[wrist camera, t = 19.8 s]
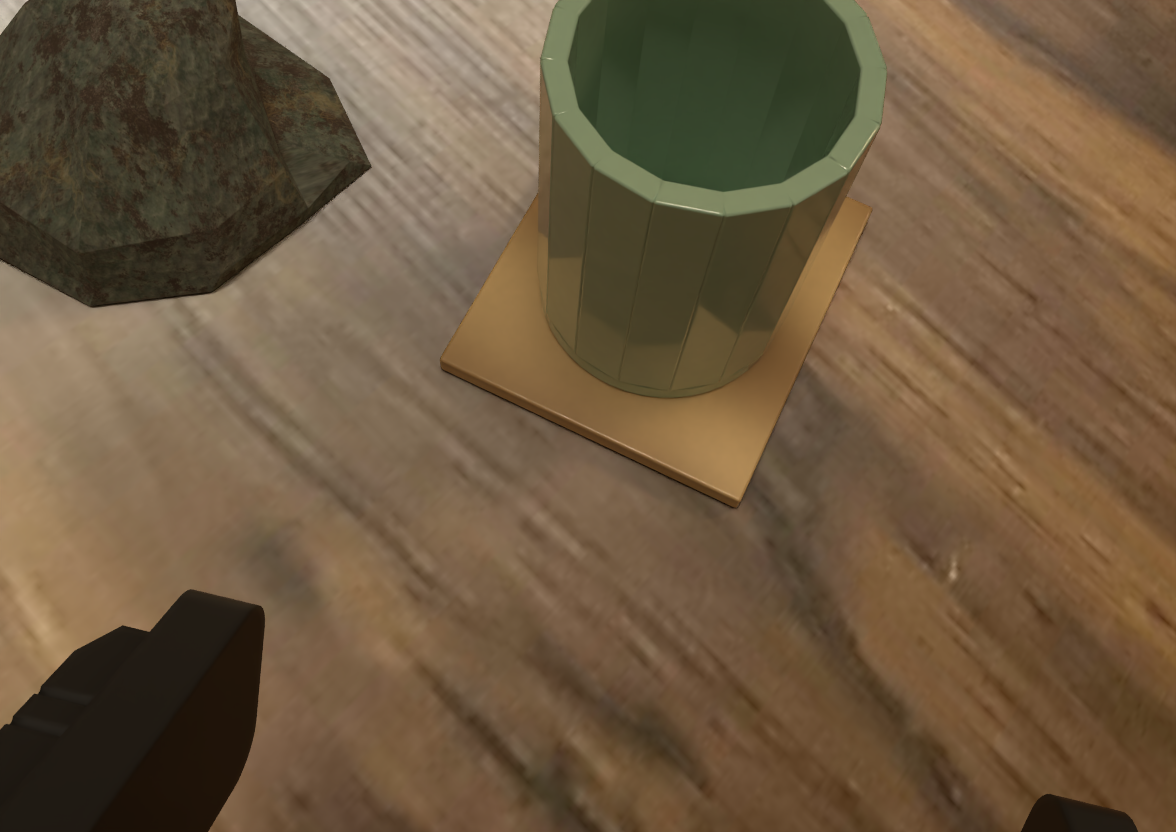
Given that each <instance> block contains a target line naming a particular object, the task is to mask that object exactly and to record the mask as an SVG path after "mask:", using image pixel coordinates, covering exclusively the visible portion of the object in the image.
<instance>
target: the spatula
mask: <svg viewBox="0 0 1176 832" xmlns="http://www.w3.org/2000/svg"><path fill="white" fill-rule="evenodd" d="M871 212H872V208H871V207H870V206H867V205H865V204H863V203H860V202H858V201H856V200H853V199H851V198H849V197H847V196H846V198H845V200H844V202H843V204H842V206H841V208H840V210H839V212H838V214H837V216H836V218H835V220H834V222H833V224H832V226H831V228H830V230H829V232H828V234H827V236H826V238H825V240H824V242H823V244H822V246H821V249H820V251H819V253H818V255H817V257H816V259H815V261H814V263H813V265H812V267H811V269H810V271H809V273H808V275H807V277H806V279H805V281H804V283H803V285H802V287H801V289H800V291H799V293H798V295H797V297H796V299H795V301H794V303H793V305H792V307H791V309H790V311H789V313H788V315H787V317H786V319H785V321H784V323H783V324H782V326H781V327H780V329H779V330H778V332H777V334H776V336H775V337H774V339H773V341H772V343H771V344H770V346H769V348H768V349H767V350H766V352H765V353H764V354H763V356H762V357H761V358H760V359H759V360H758V361H757V362H756V363H755V364H754V365H753V366H752V367H751V368H750V369H749V370H748V371H746V372H745V373H744V374H742V375H741V376H740V377H738V378H737V379H735V380H733V381H732V382H730V383H728V384H726V385H724V386H722V387H720V388H717V389H714V390H712V391H709V392H706V393H702V394H698V395H693V396H687V397H678V398H658V397H650V396H643V395H638V394H634V393H631V392H627V391H624V390H621V389H619V388H616V387H614V386H611V385H609V384H607V383H605V382H603V381H601V380H600V379H598V378H596V377H594V376H593V375H592V374H590V373H589V372H587V371H586V370H585V369H583V368H582V367H581V366H580V365H579V364H577V363H576V362H575V361H574V360H573V359H572V358H571V357H570V356H569V355H568V354H567V352H566V351H565V350H564V349H563V348H562V346H561V345H560V344H559V342H558V341H557V339H556V337H555V336H554V334H553V333H552V331H551V329H550V327H549V324H548V322H547V320H546V318H545V314H544V311H543V308H542V304H541V298H540V291H539V278H538V273H537V250H538V194H537V195H536V197H535V199H534V200H533V202H532V204H531V205H530V207H529V209H528V210H527V212H526V214H525V215H524V217H523V219H522V221H521V222H520V224H519V226H518V227H517V229H516V231H515V232H514V234H513V236H512V237H511V239H510V241H509V243H508V244H507V246H506V248H505V249H504V251H503V253H502V254H501V256H500V258H499V259H498V261H497V263H496V264H495V266H494V268H493V270H492V271H491V273H490V275H489V276H488V278H487V280H486V281H485V283H484V285H483V286H482V288H481V290H480V292H479V293H478V295H477V297H476V298H475V300H474V302H473V303H472V305H471V307H470V308H469V310H468V312H467V313H466V315H465V317H464V319H463V320H462V322H461V324H460V325H459V327H458V329H457V330H456V332H455V334H454V335H453V337H452V339H451V341H450V342H449V344H448V346H447V347H446V349H445V351H444V352H443V354H442V356H441V357H440V364H441V368H442V369H443V370H445V371H447V372H449V373H451V374H454V375H456V376H458V377H460V378H462V379H464V380H466V381H468V382H470V383H472V384H475V385H477V386H479V387H481V388H483V389H485V390H487V391H489V392H491V393H494V394H496V395H498V396H500V397H502V398H504V399H506V400H508V401H510V402H513V403H515V404H517V405H519V406H521V407H523V408H525V409H527V410H529V411H532V412H534V413H536V414H538V415H540V416H542V417H544V418H546V419H548V420H550V421H553V422H555V423H557V424H559V425H561V426H563V427H565V428H567V429H569V430H572V431H574V432H576V433H578V434H580V435H582V436H584V437H586V438H588V439H591V440H593V441H595V442H597V443H599V444H601V445H603V446H605V447H607V448H610V449H612V450H614V451H616V452H618V453H620V454H622V455H624V456H626V457H628V458H631V459H633V460H635V461H637V462H639V463H641V464H643V465H645V466H647V467H650V468H652V469H654V470H656V471H658V472H660V473H662V474H664V475H666V476H669V477H671V478H673V479H675V480H677V481H679V482H681V483H683V484H685V485H688V486H690V487H692V488H694V489H696V490H698V491H700V492H702V493H704V494H706V495H709V496H711V497H713V498H715V499H717V500H719V501H721V502H723V503H725V504H728V505H730V506H732V507H737V506H738V504H739V503H740V501H741V499H742V497H743V495H744V493H745V490H746V488H747V486H748V484H749V482H750V479H751V477H752V475H753V473H754V471H755V468H756V466H757V464H758V462H759V460H760V457H761V455H762V453H763V451H764V449H765V446H766V444H767V442H768V440H769V437H770V435H771V433H772V431H773V429H774V426H775V424H776V422H777V420H778V418H779V415H780V413H781V411H782V409H783V407H784V404H785V402H786V400H787V398H788V396H789V393H790V391H791V389H792V387H793V385H794V382H795V380H796V378H797V376H798V373H799V371H800V369H801V367H802V365H803V362H804V360H805V358H806V356H807V354H808V351H809V349H810V347H811V345H812V343H813V340H814V338H815V336H816V334H817V332H818V329H819V327H820V325H821V323H822V320H823V318H824V316H825V314H826V312H827V309H828V307H829V305H830V303H831V301H832V298H833V296H834V294H835V292H836V290H837V287H838V285H839V283H840V281H841V279H842V276H843V274H844V272H845V270H846V267H847V265H848V263H849V261H850V259H851V256H852V254H853V252H854V250H855V248H856V245H857V243H858V241H859V239H860V237H861V234H862V232H863V230H864V228H865V226H866V223H867V221H868V219H869V217H870V214H871Z"/></svg>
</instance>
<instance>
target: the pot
mask: <svg viewBox="0 0 1176 832" xmlns="http://www.w3.org/2000/svg"><path fill="white" fill-rule="evenodd" d="M886 69H887V67H886V64H885V61H884V58H883V55H882V53H881V50H880V47H879V44H878V42H877V39H876V36H875V33H874V31H873V28H872V25H871V22H870V20H869V17H867V14H866V13H865V12H864V10H863V9H862V8H861V7H860V6H859V5H858V4H857V3H856V2H855V1H854V0H559V1H558V2H557V3H556V5H555V7H554V9H553V11H552V15H551V19H550V22H549V26H548V30H547V34H546V38H545V42H544V46H543V50H542V54H541V58H540V115H539V182H538V250H537V273H538V278H539V291H540V298H541V304H542V308H543V311H544V314H545V318H546V320H547V322H548V324H549V327H550V329H551V331H552V333H553V334H554V336H555V337H556V339H557V341H558V342H559V344H560V345H561V346H562V348H563V349H564V350H565V351H566V352H567V354H568V355H569V356H570V357H571V358H572V359H573V360H574V361H575V362H576V363H577V364H579V365H580V366H581V367H582V368H583V369H585V370H586V371H587V372H589V373H590V374H592V375H593V376H594V377H596V378H598V379H600V380H601V381H603V382H605V383H607V384H609V385H611V386H614V387H616V388H619V389H621V390H624V391H627V392H631V393H634V394H638V395H643V396H650V397H658V398H678V397H687V396H693V395H698V394H702V393H706V392H709V391H712V390H714V389H717V388H720V387H722V386H724V385H726V384H728V383H730V382H732V381H733V380H735V379H737V378H738V377H740V376H741V375H742V374H744V373H745V372H746V371H748V370H749V369H750V368H751V367H752V366H753V365H754V364H755V363H756V362H757V361H758V360H759V359H760V358H761V357H762V356H763V354H764V353H765V352H766V350H767V349H768V348H769V346H770V344H771V343H772V341H773V339H774V337H775V336H776V334H777V332H778V330H779V329H780V327H781V326H782V324H783V323H784V321H785V319H786V317H787V315H788V313H789V311H790V309H791V307H792V305H793V303H794V301H795V299H796V297H797V295H798V293H799V291H800V289H801V287H802V285H803V283H804V281H805V279H806V277H807V275H808V273H809V271H810V269H811V267H812V265H813V263H814V261H815V259H816V257H817V255H818V253H819V251H820V249H821V246H822V244H823V242H824V240H825V238H826V236H827V234H828V232H829V230H830V228H831V226H832V224H833V222H834V220H835V218H836V216H837V214H838V212H839V210H840V208H841V206H842V204H843V202H844V200H845V198H846V196H847V194H848V192H849V190H850V188H851V186H852V184H853V182H854V180H855V178H856V176H857V174H858V172H859V170H860V168H861V165H862V163H863V161H864V159H865V157H866V155H867V153H868V151H869V149H870V147H871V145H872V143H873V141H874V139H875V137H876V135H877V133H878V131H879V129H880V126H881V124H882V116H883V107H884V98H885V89H886V81H887V70H886Z"/></svg>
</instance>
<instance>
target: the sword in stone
mask: <svg viewBox="0 0 1176 832" xmlns="http://www.w3.org/2000/svg"><path fill="white" fill-rule="evenodd" d="M370 166H371V164H370V162H369V160H368V158H367V156H366V154H365V152H364V150H363V147H362V145H361V143H360V141H359V139H358V137H357V135H356V133H355V131H354V129H353V127H352V124H351V122H350V120H349V118H348V116H347V114H346V112H345V110H344V108H343V106H342V104H341V102H340V99H339V97H338V95H337V93H336V91H335V89H334V87H333V85H332V83H331V81H330V79H329V78H328V77H327V76H325V75H324V74H322V73H321V72H320V71H318V70H317V69H315V68H314V67H312V66H311V65H309V64H308V63H307V62H305V61H304V60H302V59H301V58H299V57H298V56H297V55H295V54H294V53H292V52H291V51H289V50H288V49H286V48H285V47H284V46H282V45H281V44H279V43H278V42H276V41H275V40H274V39H272V38H271V37H269V36H268V35H266V34H265V33H264V32H262V31H261V30H259V29H258V28H256V27H255V26H253V25H252V24H251V23H249V22H248V21H246V20H245V19H243V18H242V17H241V16H239V15H238V12H237V7H236V1H235V0H28V1H27V2H26V3H25V4H24V5H23V6H22V8H21V9H20V10H19V11H18V13H17V14H16V15H15V17H14V18H13V19H12V21H11V22H10V23H9V24H8V26H7V27H6V28H5V30H4V31H3V32H2V34H1V35H0V258H1V259H3V260H5V261H7V262H8V263H10V264H12V265H14V266H16V267H18V268H20V269H22V270H23V271H25V272H27V273H29V274H31V275H33V276H35V277H36V278H38V279H40V280H42V281H44V282H46V283H48V284H50V285H51V286H53V287H55V288H57V289H59V290H61V291H63V292H65V293H66V294H68V295H70V296H72V297H74V298H76V299H78V300H80V301H81V302H83V303H85V304H87V305H89V306H94V305H102V304H111V303H119V302H127V301H136V300H144V299H153V298H161V297H169V296H178V295H186V294H195V293H203V292H211V291H213V290H215V289H216V288H217V287H219V286H220V285H221V284H223V283H224V282H225V281H227V280H228V279H229V278H231V277H232V276H233V275H235V274H236V273H237V272H239V271H240V270H241V269H243V268H244V267H245V266H246V265H248V264H249V263H250V262H252V261H253V260H254V259H256V258H257V257H258V256H260V255H261V254H262V253H264V252H265V251H266V250H268V249H269V248H270V247H272V246H273V245H274V244H276V243H277V242H278V241H279V240H281V239H282V238H283V237H285V236H286V235H287V234H289V233H290V232H291V231H293V230H294V229H295V228H297V227H298V226H299V225H301V224H302V223H303V222H304V221H305V220H307V219H308V218H309V217H310V216H311V215H313V214H314V213H315V212H316V211H317V210H319V209H320V208H321V207H322V206H323V205H325V204H326V203H327V202H328V201H329V200H331V199H332V198H333V197H334V196H335V195H337V194H338V193H339V192H340V191H341V190H343V189H344V188H345V187H346V186H347V185H349V184H350V183H351V182H352V181H353V180H355V179H356V178H357V177H358V176H359V175H361V174H362V173H363V172H364V171H365V170H367V169H368V168H369V167H370Z"/></svg>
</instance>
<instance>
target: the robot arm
mask: <svg viewBox="0 0 1176 832" xmlns="http://www.w3.org/2000/svg"><path fill="white" fill-rule="evenodd" d="M264 628H265V615H264V610H263V608H262V607H261V606H259V605H255V604H251V603H246V602H242V601H238V600H234V599H230V598H226V597H222V596H217V595H213V594H209V593H205V592H201V591H197V590H191V589H190V590H188V591H186V592H184V593H183V594H182V595H181V596H180V597H179V598H178V599H177V601H176V602H175V603H174V604H173V605H172V606H171V608H170V609H169V610H168V611H167V612H166V614H165V615H164V616H163V617H162V618H161V619H160V621H159V622H158V623H157V624H156V625H155V626H154V628H153V629H152V630H151V631H150V632H147V631H143V630H139V629H135V628H131V627H127V626H121V627H119V628H117V629H115V630H113V631H111V632H109V633H107V634H106V635H104V636H102V637H100V638H98V639H96V640H94V641H92V642H90V643H89V644H87V645H85V646H83V647H81V648H79V649H77V650H75V651H74V652H73V653H72V654H71V655H70V656H69V657H68V658H67V659H66V660H65V661H64V662H63V664H62V665H61V666H60V667H59V668H58V669H57V670H56V671H55V672H54V673H53V674H52V675H51V676H50V677H49V678H48V679H47V681H46V682H45V683H44V684H43V685H42V686H41V689H40V692H39V693H38V694H33V695H32V697H31V698H30V699H29V700H28V701H27V702H26V703H25V704H24V705H23V706H22V707H21V708H20V709H19V710H18V711H17V713H16V714H15V715H14V716H13V720H12V722H11V724H10V725H9V724H5V725H4V726H3V727H2V728H1V730H0V832H208V831H209V829H210V827H211V826H212V824H213V822H214V821H215V819H216V817H217V816H218V814H219V812H220V811H221V809H222V807H223V806H224V804H225V802H226V801H227V799H228V797H229V796H230V794H231V792H232V791H233V789H234V787H235V785H236V784H237V782H238V780H239V778H240V775H241V773H242V771H243V768H244V766H245V763H246V761H247V758H248V755H249V752H250V748H251V745H252V741H253V737H254V732H255V727H256V718H257V707H258V695H259V684H260V673H261V662H262V650H263V639H264ZM1021 832H1138V830H1137V828H1136V826H1135V824H1134V822H1133V820H1132V819H1131V818H1130V817H1129V816H1128V815H1127V814H1126V813H1124V812H1121V811H1118V810H1114V809H1109V808H1105V807H1101V806H1097V805H1093V804H1089V803H1085V802H1080V801H1076V800H1072V799H1068V798H1064V797H1060V796H1056V795H1051V794H1046V795H1044V796H1042V797H1041V798H1039V799H1038V800H1037V802H1036V803H1035V804H1034V806H1033V808H1032V810H1031V812H1030V814H1029V816H1028V818H1027V820H1026V822H1025V824H1024V826H1023V828H1022V831H1021Z"/></svg>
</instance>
